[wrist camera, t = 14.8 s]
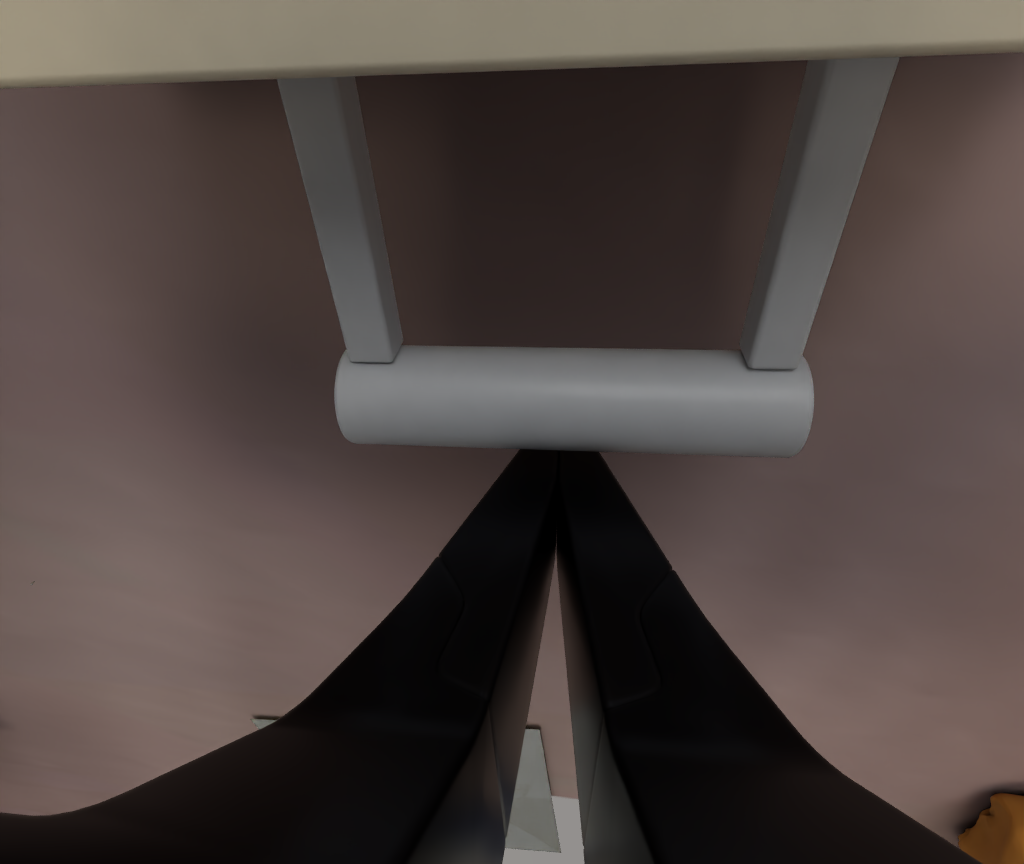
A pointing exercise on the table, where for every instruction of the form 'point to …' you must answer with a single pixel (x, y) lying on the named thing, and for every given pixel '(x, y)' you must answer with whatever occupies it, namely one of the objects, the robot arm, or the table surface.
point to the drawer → (535, 46)
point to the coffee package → (997, 832)
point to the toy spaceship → (523, 799)
